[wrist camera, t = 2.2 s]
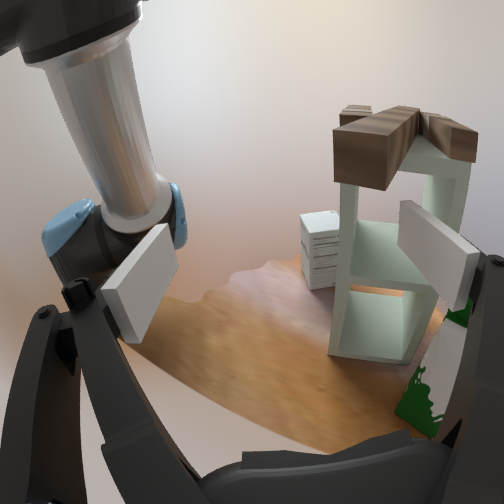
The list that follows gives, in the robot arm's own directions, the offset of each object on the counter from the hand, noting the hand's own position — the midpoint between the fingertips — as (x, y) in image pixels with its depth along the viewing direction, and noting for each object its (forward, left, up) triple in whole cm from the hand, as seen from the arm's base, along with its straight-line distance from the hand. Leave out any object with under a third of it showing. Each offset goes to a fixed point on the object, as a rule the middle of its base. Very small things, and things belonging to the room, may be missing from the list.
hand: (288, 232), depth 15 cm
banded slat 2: (-13, +20, +2) cm, 24 cm away
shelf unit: (-15, +16, -28) cm, 36 cm away
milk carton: (+2, +19, -28) cm, 34 cm away
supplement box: (-30, +11, -28) cm, 43 cm away
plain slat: (-12, +13, +2) cm, 18 cm away
